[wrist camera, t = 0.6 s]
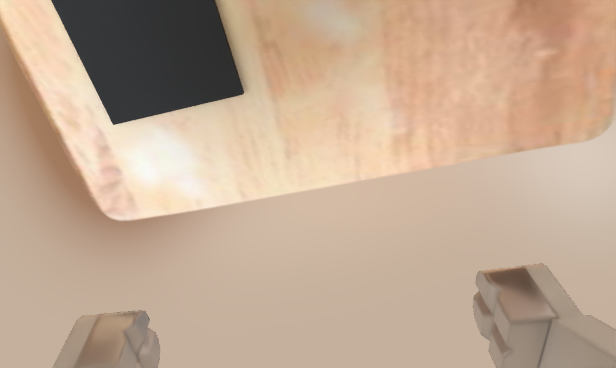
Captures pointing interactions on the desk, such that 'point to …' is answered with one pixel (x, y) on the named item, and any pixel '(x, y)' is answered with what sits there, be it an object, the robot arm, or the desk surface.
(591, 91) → the desk surface
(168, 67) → the mat
